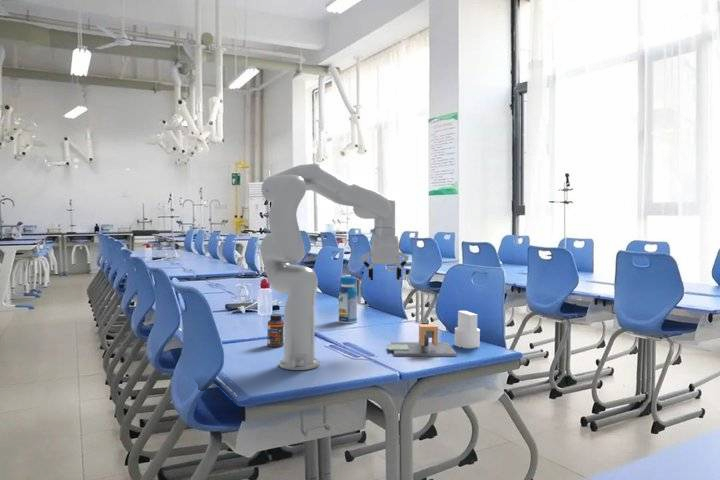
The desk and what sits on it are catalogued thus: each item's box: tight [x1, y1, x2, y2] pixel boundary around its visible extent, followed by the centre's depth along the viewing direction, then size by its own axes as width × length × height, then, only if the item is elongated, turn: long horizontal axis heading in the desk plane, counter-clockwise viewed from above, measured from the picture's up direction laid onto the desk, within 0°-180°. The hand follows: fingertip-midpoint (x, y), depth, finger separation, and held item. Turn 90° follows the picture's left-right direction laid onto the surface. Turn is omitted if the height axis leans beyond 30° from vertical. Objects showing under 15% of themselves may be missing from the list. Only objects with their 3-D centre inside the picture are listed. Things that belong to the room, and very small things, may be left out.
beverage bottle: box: [337, 275, 358, 324], centre depth 244 cm, size 8×8×20 cm
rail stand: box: [387, 321, 457, 357], centre depth 194 cm, size 16×22×9 cm
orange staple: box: [418, 323, 439, 346], centre depth 191 cm, size 4×6×7 cm, turn 91°
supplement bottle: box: [266, 313, 284, 348], centre depth 200 cm, size 6×6×11 cm
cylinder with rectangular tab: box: [454, 310, 481, 349], centre depth 202 cm, size 9×9×12 cm
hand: (384, 279), depth 200 cm, fingers open, 9 cm apart
